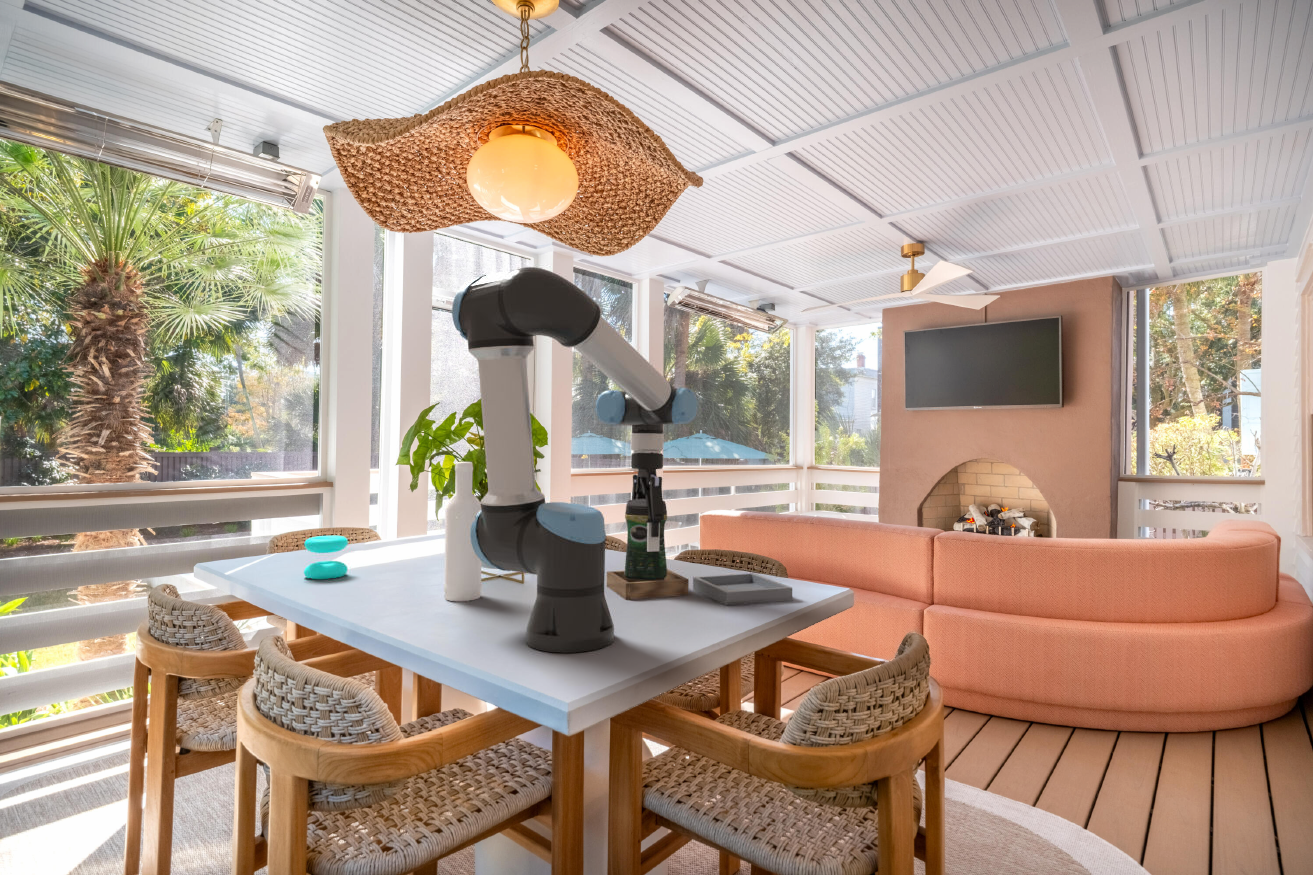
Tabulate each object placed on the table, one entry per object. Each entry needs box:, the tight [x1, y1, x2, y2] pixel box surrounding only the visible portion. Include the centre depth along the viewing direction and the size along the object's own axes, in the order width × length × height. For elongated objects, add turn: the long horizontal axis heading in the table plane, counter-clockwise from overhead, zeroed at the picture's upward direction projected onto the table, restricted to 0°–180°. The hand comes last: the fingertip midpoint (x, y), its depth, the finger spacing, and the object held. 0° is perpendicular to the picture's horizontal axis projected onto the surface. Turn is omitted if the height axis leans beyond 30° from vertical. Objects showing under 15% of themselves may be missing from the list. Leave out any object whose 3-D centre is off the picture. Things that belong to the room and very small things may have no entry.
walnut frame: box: [606, 568, 690, 600], centre depth 158 cm, size 15×15×4 cm
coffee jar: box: [624, 499, 668, 581], centre depth 158 cm, size 10×8×19 cm
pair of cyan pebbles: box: [303, 535, 349, 580], centre depth 172 cm, size 10×10×10 cm
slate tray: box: [692, 572, 793, 607], centre depth 154 cm, size 16×18×3 cm
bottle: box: [443, 461, 483, 602], centre depth 149 cm, size 8×8×30 cm
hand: (645, 548), depth 158 cm, fingers closed on coffee jar, 9 cm apart
